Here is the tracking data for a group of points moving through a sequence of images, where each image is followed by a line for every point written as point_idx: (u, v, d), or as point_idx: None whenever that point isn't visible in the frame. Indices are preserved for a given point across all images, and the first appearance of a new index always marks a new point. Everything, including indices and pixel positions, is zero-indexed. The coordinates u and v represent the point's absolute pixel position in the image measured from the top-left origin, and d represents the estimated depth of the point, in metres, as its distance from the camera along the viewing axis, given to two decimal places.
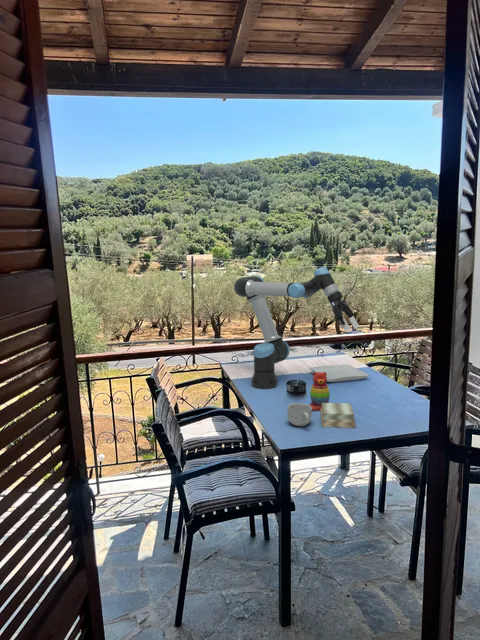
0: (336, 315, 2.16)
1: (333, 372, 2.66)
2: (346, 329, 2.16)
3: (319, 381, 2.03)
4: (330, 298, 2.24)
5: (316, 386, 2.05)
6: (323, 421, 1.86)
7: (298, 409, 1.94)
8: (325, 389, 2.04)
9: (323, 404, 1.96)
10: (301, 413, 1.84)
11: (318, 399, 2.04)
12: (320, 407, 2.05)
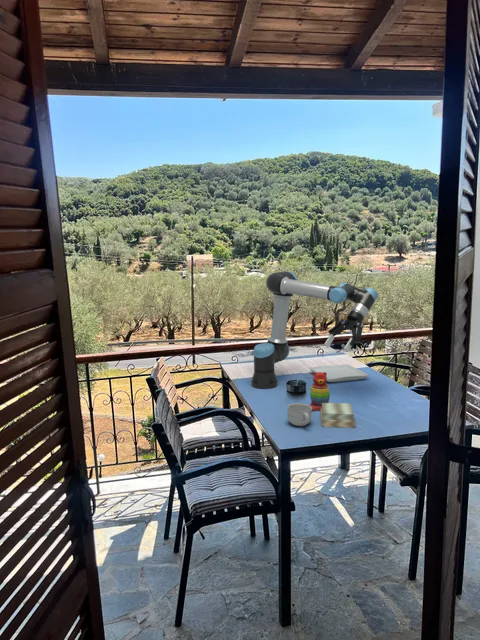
0: (359, 335, 2.04)
1: (333, 372, 2.66)
2: (347, 348, 2.04)
3: (319, 381, 2.03)
4: (359, 316, 2.12)
5: (316, 386, 2.05)
6: (323, 421, 1.86)
7: (298, 409, 1.94)
8: (325, 389, 2.04)
9: (323, 404, 1.96)
10: (301, 413, 1.84)
11: (318, 399, 2.04)
12: (320, 407, 2.05)
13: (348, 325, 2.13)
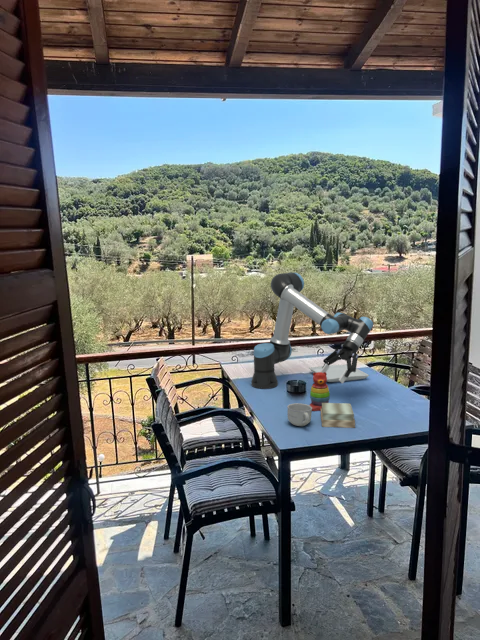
0: (354, 367, 2.03)
1: (333, 372, 2.66)
2: (341, 380, 2.03)
3: (319, 381, 2.03)
4: (354, 347, 2.10)
5: (316, 386, 2.05)
6: (323, 421, 1.86)
7: (298, 409, 1.94)
8: (325, 389, 2.04)
9: (323, 404, 1.96)
10: (301, 413, 1.84)
11: (318, 399, 2.04)
12: (320, 407, 2.05)
13: (343, 355, 2.11)
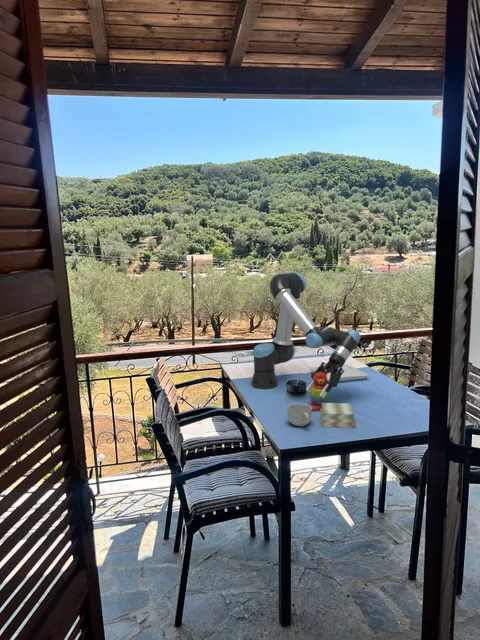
0: (335, 382, 2.01)
1: None
2: (322, 395, 2.02)
3: (319, 381, 2.03)
4: (341, 360, 2.08)
5: (316, 386, 2.05)
6: (323, 421, 1.86)
7: (298, 409, 1.94)
8: None
9: (323, 404, 1.96)
10: (301, 413, 1.84)
11: (318, 399, 2.04)
12: (320, 407, 2.05)
13: (329, 368, 2.09)
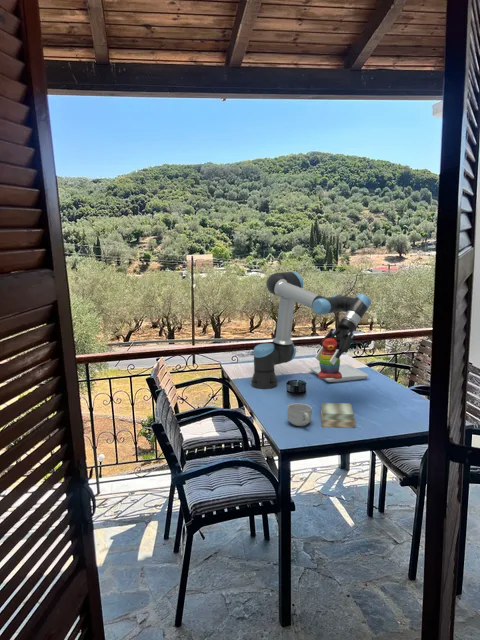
0: (346, 347, 1.91)
1: None
2: (332, 361, 1.91)
3: (329, 347, 1.92)
4: (351, 325, 1.98)
5: (326, 352, 1.94)
6: (323, 421, 1.86)
7: (298, 409, 1.94)
8: None
9: (323, 404, 1.96)
10: (301, 413, 1.84)
11: (328, 366, 1.93)
12: (330, 374, 1.94)
13: (339, 334, 1.99)
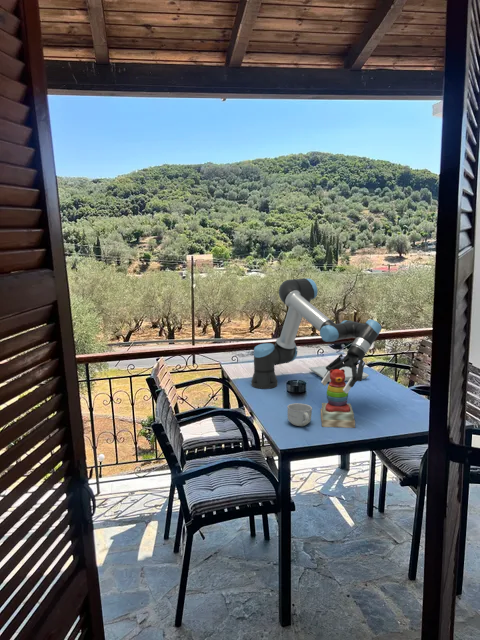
0: (360, 375, 1.83)
1: None
2: (346, 390, 1.83)
3: (337, 379, 1.85)
4: (360, 353, 1.90)
5: (334, 384, 1.87)
6: (323, 421, 1.86)
7: (298, 409, 1.94)
8: None
9: (323, 404, 1.96)
10: (301, 413, 1.84)
11: (336, 398, 1.86)
12: (338, 407, 1.87)
13: (348, 362, 1.91)
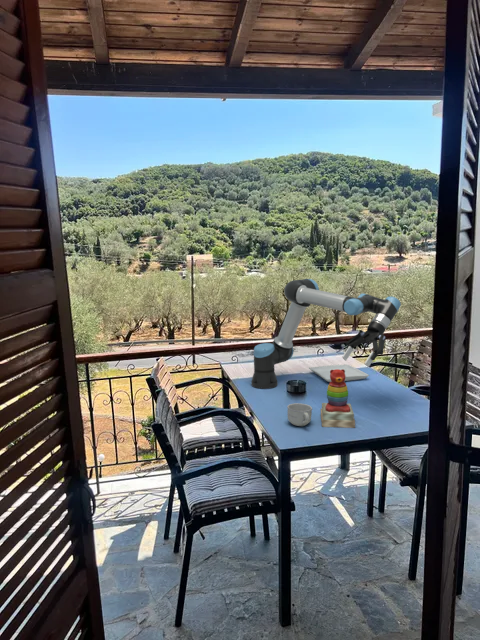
0: (381, 349, 1.88)
1: None
2: (367, 363, 1.88)
3: (337, 379, 1.85)
4: (381, 328, 1.95)
5: (334, 384, 1.87)
6: (323, 421, 1.86)
7: (298, 409, 1.94)
8: (344, 388, 1.87)
9: (323, 404, 1.96)
10: (301, 413, 1.84)
11: (336, 398, 1.87)
12: (338, 407, 1.87)
13: (368, 337, 1.96)
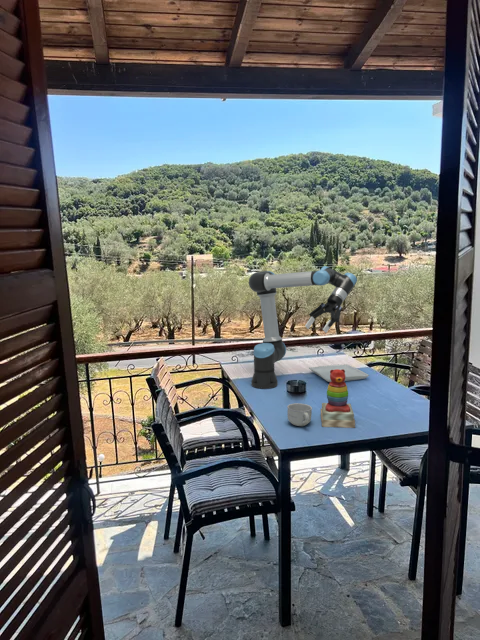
0: (337, 317, 2.15)
1: None
2: (325, 329, 2.15)
3: (337, 379, 1.85)
4: (338, 300, 2.22)
5: (334, 384, 1.87)
6: (323, 421, 1.86)
7: (298, 409, 1.94)
8: (344, 388, 1.87)
9: (323, 404, 1.96)
10: (301, 413, 1.84)
11: (336, 398, 1.87)
12: (338, 407, 1.87)
13: (327, 308, 2.23)
